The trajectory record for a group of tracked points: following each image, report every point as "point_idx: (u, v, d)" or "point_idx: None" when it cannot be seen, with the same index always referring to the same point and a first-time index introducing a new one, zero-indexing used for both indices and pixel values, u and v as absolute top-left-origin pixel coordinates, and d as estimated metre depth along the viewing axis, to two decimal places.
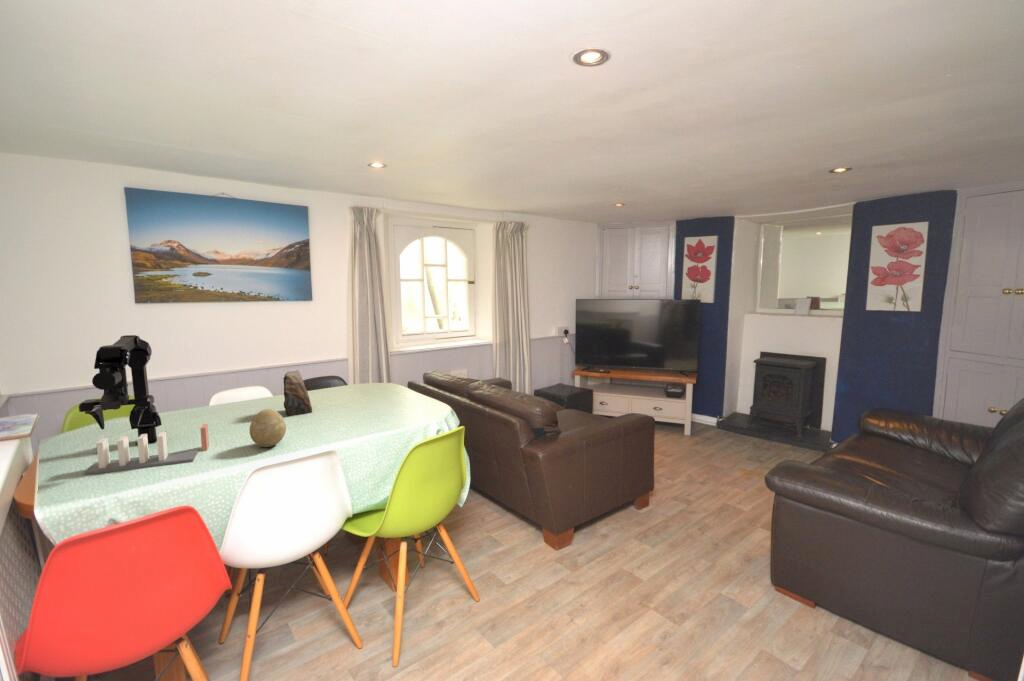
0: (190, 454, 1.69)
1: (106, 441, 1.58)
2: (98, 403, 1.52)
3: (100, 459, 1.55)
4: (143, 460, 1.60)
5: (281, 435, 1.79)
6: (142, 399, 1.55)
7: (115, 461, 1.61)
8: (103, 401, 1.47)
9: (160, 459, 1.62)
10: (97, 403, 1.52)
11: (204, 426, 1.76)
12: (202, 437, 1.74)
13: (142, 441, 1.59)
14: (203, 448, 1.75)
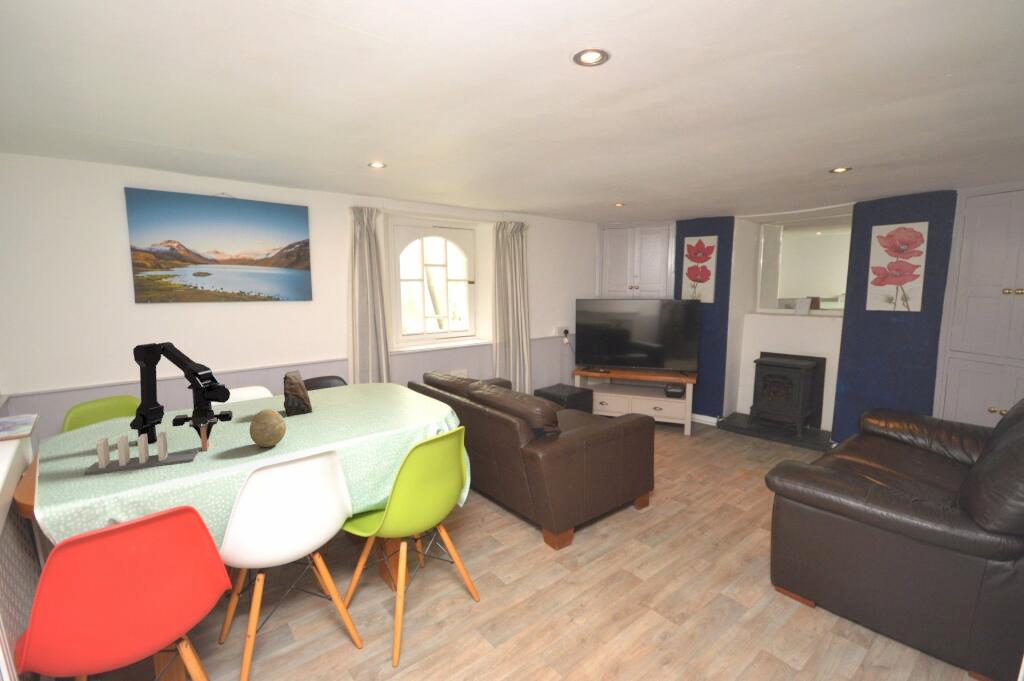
0: (190, 454, 1.69)
1: (106, 441, 1.58)
2: (187, 418, 1.73)
3: (100, 459, 1.55)
4: (143, 460, 1.60)
5: (281, 435, 1.79)
6: (224, 414, 1.77)
7: (115, 461, 1.61)
8: (194, 417, 1.68)
9: (160, 459, 1.62)
10: (186, 418, 1.73)
11: (204, 426, 1.76)
12: (202, 437, 1.74)
13: (142, 441, 1.59)
14: (203, 448, 1.75)
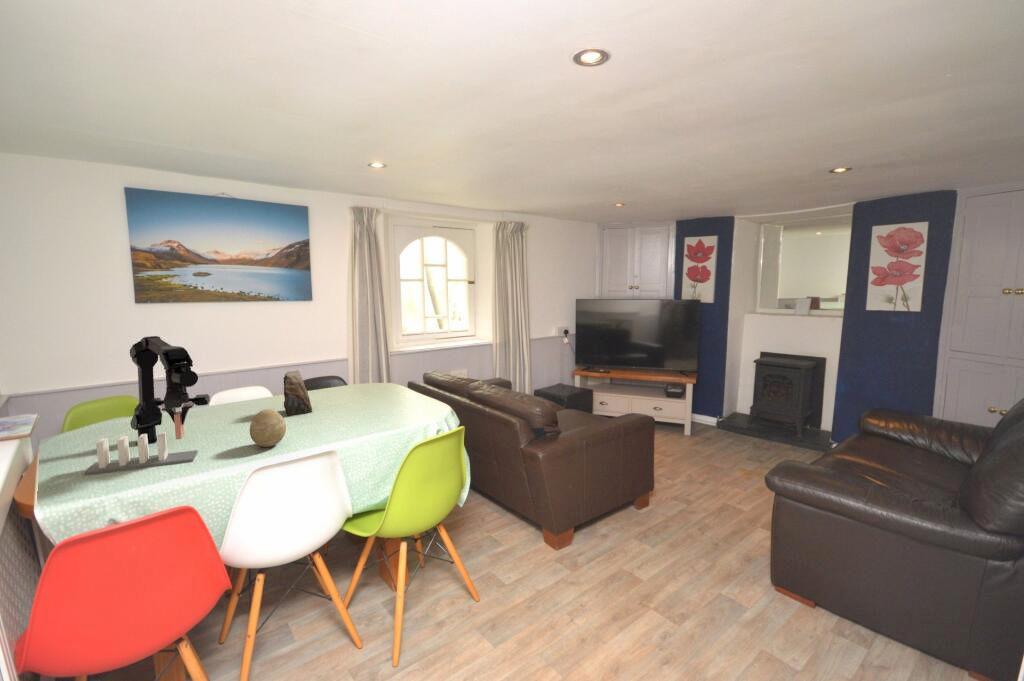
0: (190, 454, 1.69)
1: (106, 441, 1.58)
2: (160, 402, 1.62)
3: (100, 459, 1.55)
4: (143, 460, 1.60)
5: (281, 435, 1.79)
6: (200, 397, 1.65)
7: (115, 461, 1.61)
8: (167, 400, 1.56)
9: (160, 459, 1.62)
10: (159, 402, 1.62)
11: (178, 413, 1.64)
12: (176, 425, 1.62)
13: (142, 441, 1.59)
14: (177, 436, 1.63)
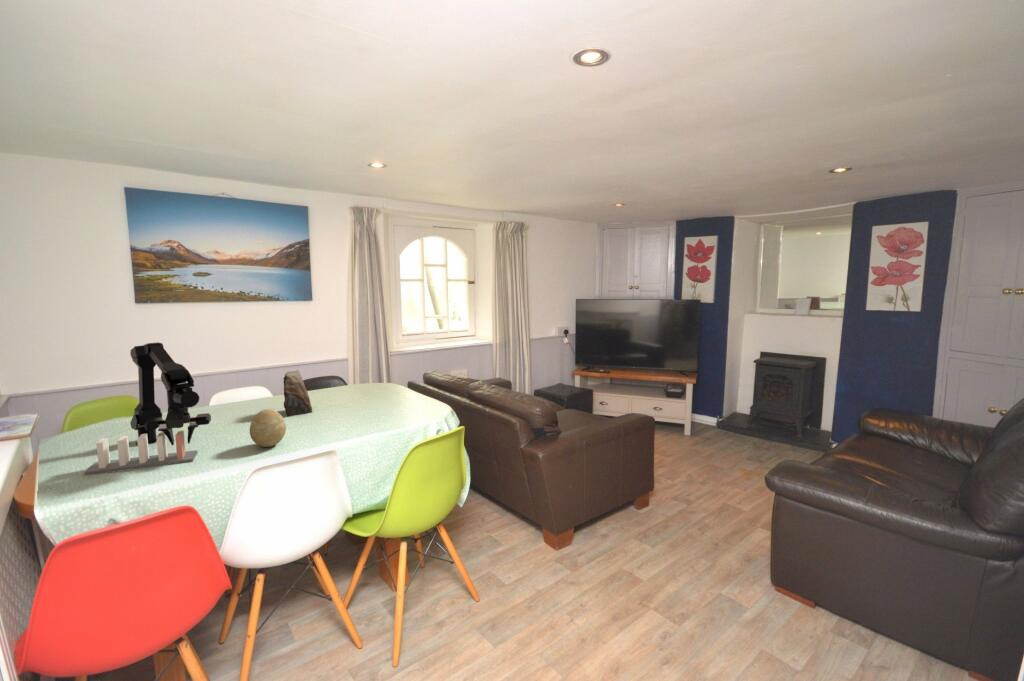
0: (190, 454, 1.69)
1: (106, 441, 1.58)
2: (162, 421, 1.63)
3: (100, 459, 1.55)
4: (143, 460, 1.60)
5: (281, 435, 1.79)
6: (201, 417, 1.66)
7: (115, 461, 1.61)
8: (168, 420, 1.57)
9: (160, 459, 1.62)
10: (161, 422, 1.62)
11: (179, 433, 1.65)
12: (177, 445, 1.63)
13: (142, 441, 1.59)
14: (178, 456, 1.64)
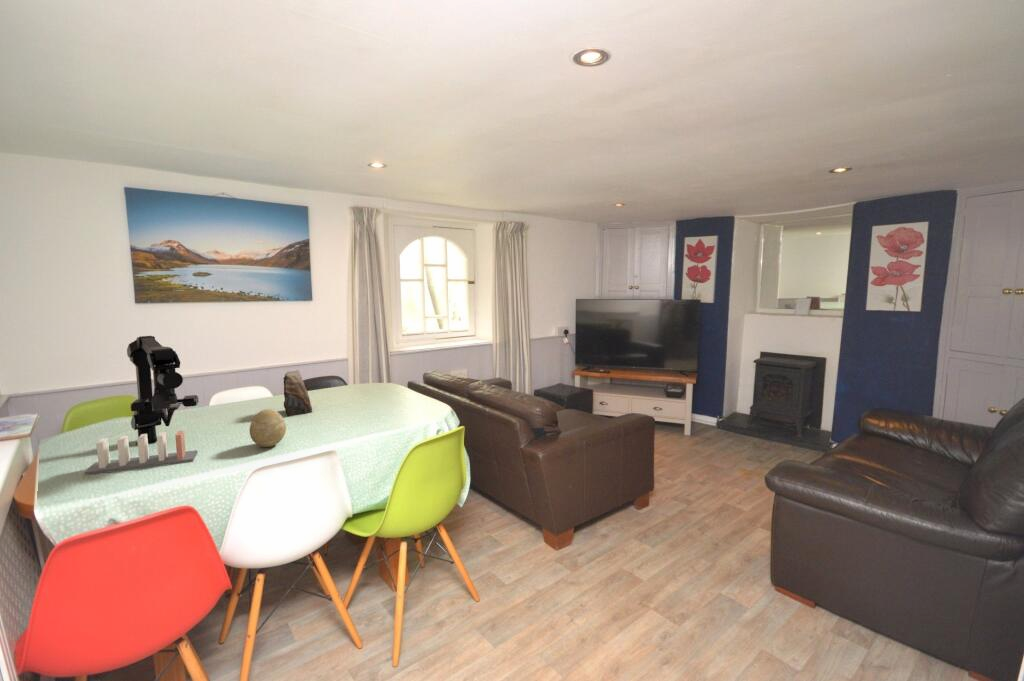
0: (190, 454, 1.69)
1: (106, 441, 1.58)
2: (148, 403, 1.60)
3: (100, 459, 1.55)
4: (143, 460, 1.60)
5: (281, 435, 1.79)
6: (189, 399, 1.64)
7: (115, 461, 1.61)
8: (155, 401, 1.55)
9: (160, 459, 1.62)
10: (147, 403, 1.60)
11: (179, 433, 1.65)
12: (177, 445, 1.63)
13: (142, 441, 1.59)
14: (178, 456, 1.64)
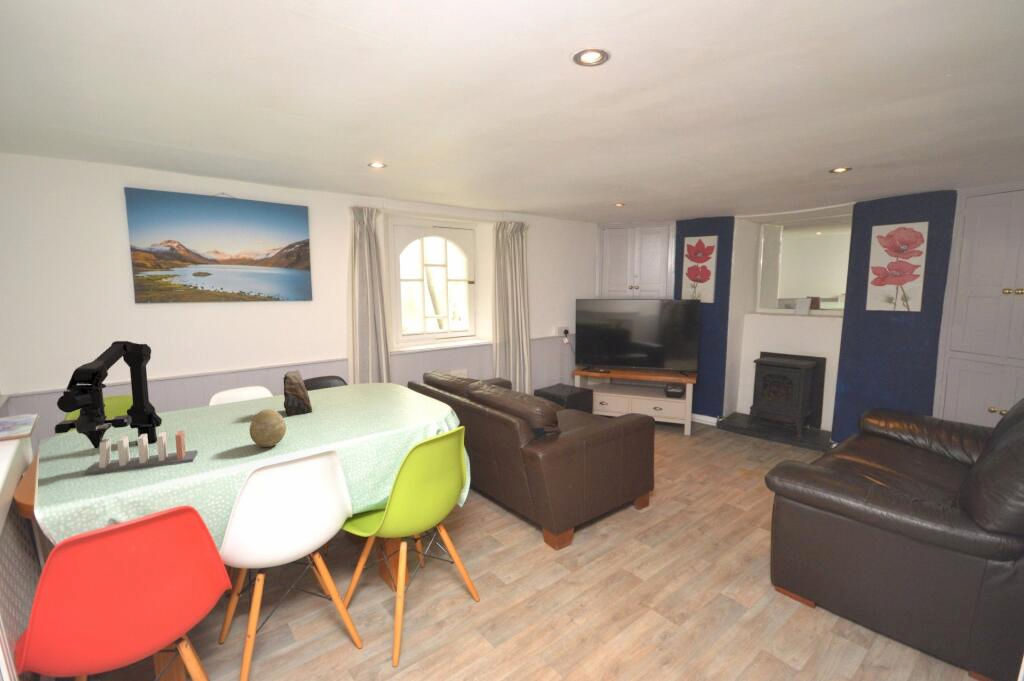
0: (190, 454, 1.69)
1: (109, 441, 1.58)
2: (74, 424, 1.52)
3: (101, 459, 1.55)
4: (143, 460, 1.60)
5: (281, 435, 1.79)
6: (119, 419, 1.56)
7: (115, 461, 1.61)
8: (78, 423, 1.47)
9: (160, 459, 1.62)
10: (73, 424, 1.52)
11: (179, 433, 1.65)
12: (177, 445, 1.63)
13: (142, 441, 1.59)
14: (178, 456, 1.64)
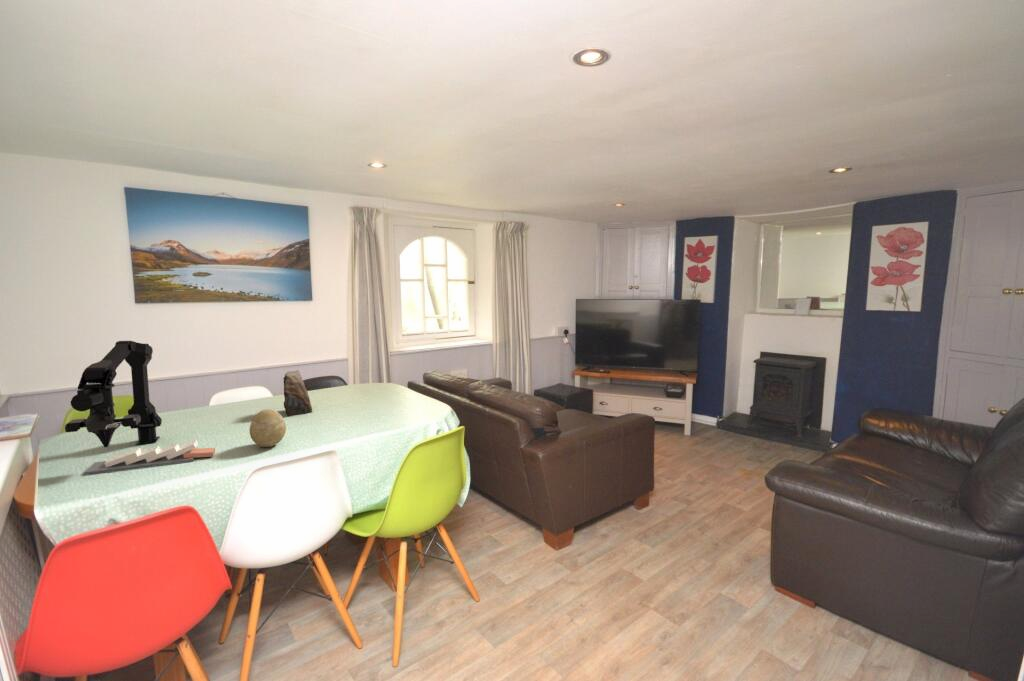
0: None
1: None
2: (84, 423, 1.53)
3: (116, 461, 1.57)
4: (149, 460, 1.61)
5: (281, 435, 1.79)
6: (128, 418, 1.57)
7: None
8: (89, 422, 1.48)
9: (168, 456, 1.63)
10: (83, 423, 1.53)
11: (213, 453, 1.70)
12: (201, 454, 1.67)
13: (172, 452, 1.64)
14: (186, 454, 1.65)
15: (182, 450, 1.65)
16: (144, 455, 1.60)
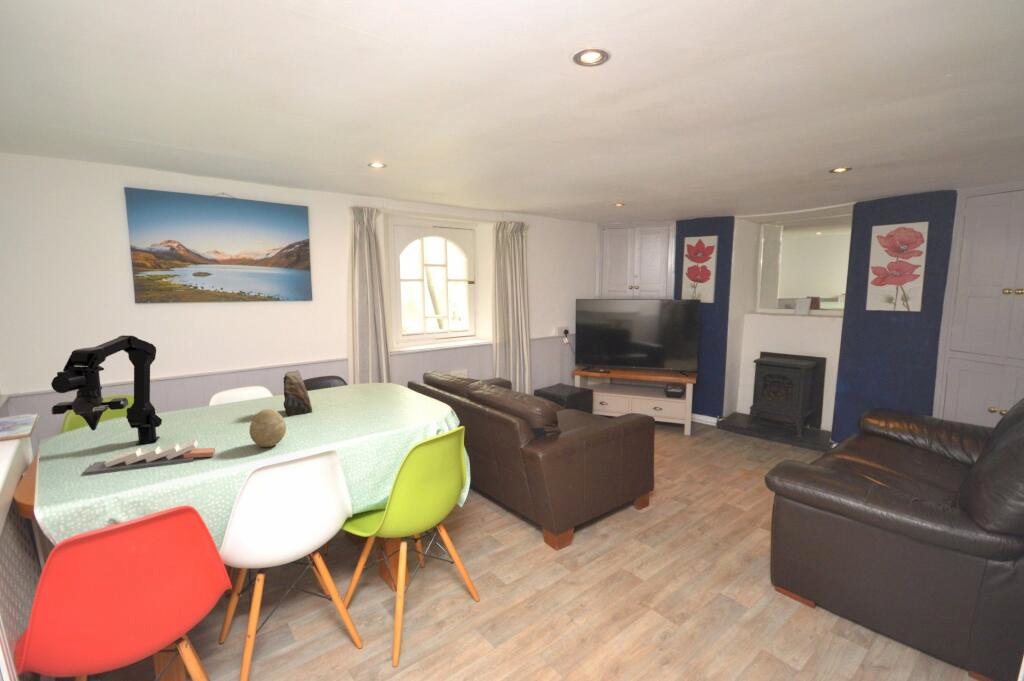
0: None
1: None
2: (71, 406, 1.54)
3: (116, 461, 1.57)
4: (149, 460, 1.61)
5: (281, 435, 1.79)
6: (115, 401, 1.57)
7: None
8: (75, 404, 1.49)
9: (168, 456, 1.63)
10: (70, 406, 1.54)
11: (213, 453, 1.70)
12: (201, 454, 1.67)
13: (172, 452, 1.64)
14: (186, 454, 1.65)
15: (182, 450, 1.65)
16: (144, 455, 1.60)
